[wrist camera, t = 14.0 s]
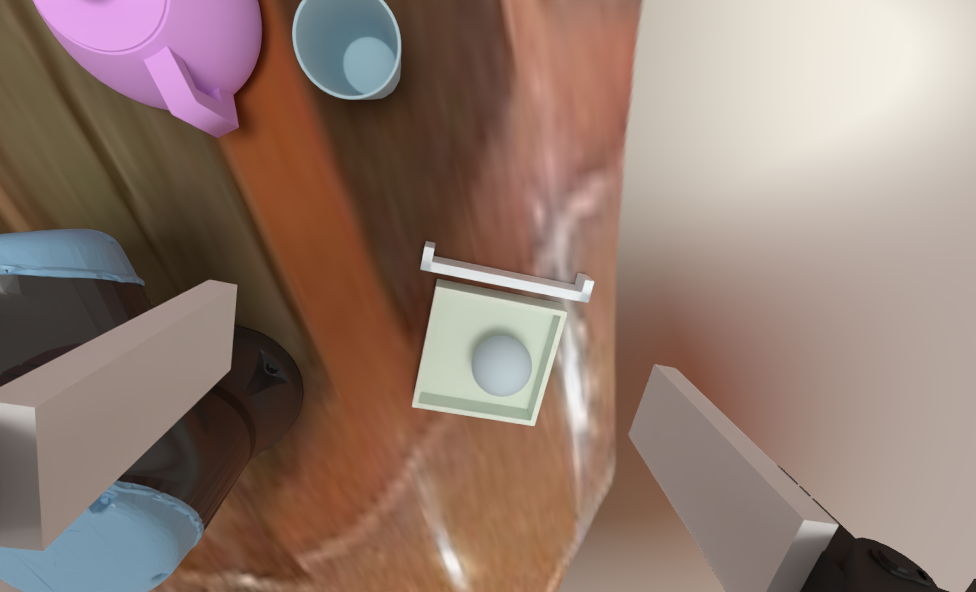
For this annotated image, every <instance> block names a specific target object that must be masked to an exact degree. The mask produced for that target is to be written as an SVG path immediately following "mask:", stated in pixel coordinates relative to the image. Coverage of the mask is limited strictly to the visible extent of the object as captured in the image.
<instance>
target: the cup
mask: <svg viewBox="0 0 976 592" xmlns="http://www.w3.org/2000/svg"><path fill="white" fill-rule="evenodd" d="M292 37H293V45H294V50H295V53H296V57H297V59H298V61H299V64H300V66H301V67H302V69H303V71H304V72H305V74H306V75H307V76H308V77H309V79H310V80H311V81H312V82H313V83H314V84H315V85H316V86H318V87H319V88H320V89H322V90H323V91H325V92H327V93H328V94H330V95H333V96H335V97H338V98H342V99H349V100H373V99H381V98H384V97H386V96H387V95H388V94H390V93H392V92H393V91H394V89H395V88H396V86H397V84H398V82H399V80H400V71H401V37H400V32H399V28H398V25H397V22H396V19H395V17H394V15H393V13H392V12H391V10H390V8H389V7H388V6H387V4H386V3H385V2H384V1H383V0H302V2H301V3H300V5H299V7H298V9H297V11H296V14H295V17H294V22H293V30H292Z"/></svg>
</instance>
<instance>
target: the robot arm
mask: <svg viewBox="0 0 976 592" xmlns="http://www.w3.org/2000/svg"><path fill="white" fill-rule="evenodd" d="M144 286H145V283H144V281H143V280H142V279H141V278H139V277H137V275H136V273H135V271H134V269H133V267H132V265H131V264H130V262H129V260H128V258H127V256H126V254H125V252H124V250H123V249H122V247H121V245H120V244H119V243H118V241H116V240H115V239H114V238H113V237H111V236H110V235H108V234H106V233H103V232H101V231H97V230H92V229H58V230H42V231H29V232H17V233H6V234H0V579H1V580H2V581H4V582H6V583H7V584H9V585H10V586H12V587H14V588H16V589H18V590H21V591H23V592H148V591H150V590H152V589H153V588H155V587H156V586H158V585H159V584H161V583H162V582H163V581H164V580H166V579H167V578H168V577H169V576H170V575H171V574H172V573H173V571H174V570H175V569H176V568H177V566H178V565H179V564H180V562H181V561H182V560H183V558H184V557H185V556H186V554H187V553H188V552H189V550H191V549H192V548H193V547H194V546H195V545H196V544H197V543H198V541H199V540H200V538H201V536H202V534H203V532H204V531H205V529H206V528H207V526H208V524H209V523H210V521H211V520H212V518H213V517H214V515H215V513H216V512H217V510H218V509H219V507H220V505H221V504H222V502H223V501H224V499H225V498H226V496H227V494H228V493H229V491H230V490H231V488H232V486H233V485H234V483H235V482H236V480H237V479H238V477H239V475H240V474H241V472H242V471H243V469H244V467H245V466H246V464H247V463H248V461H249V460H251V459H252V458H254V457H255V456H256V455H258V454H259V453H261V452H262V451H263V450H265V449H267V448H269V447H270V446H272V445H273V444H275V443H276V442H277V441H279V440H280V439H281V438H282V437H283V436H284V435H285V434H286V432H287V431H288V430H289V428H290V427H291V425H292V424H293V422H294V420H295V418H296V417H297V415H298V413H299V411H300V408H301V404H302V399H303V385H302V380H301V376H300V374H299V371H298V369H297V367H296V365H295V363H294V362H293V360H292V359H291V357H290V356H289V355H288V354H287V353H286V351H285V350H284V349H283V348H281V347H280V346H279V345H278V344H277V343H275V342H274V341H273V340H271V339H270V338H268V337H266V336H264V335H262V334H260V333H258V332H256V331H253V330H250V329H247V328H243V327H238V326H234V321H235V308H236V295H237V285H235V284H230V283H225V282H220V281H214V280H207V281H206V282H204V283H202V284H200V285H198V286H196V287H194V288H192V289H190V290H188V291H186V292H184V293H182V294H180V295H178V296H176V297H174V298H172V299H171V300H169V301H167V302H165V303H163V304H161V305H159V306H157V307H155V308H153V307H152V305H151V302H150V300H149V298H148V296H147V294H146V292H145V289H144ZM629 437H630V439H631V440H632V442H633V444H634V445H635V447H636V448H637V450H638V452H639V453H640V455H641V456H642V458H643V459H644V461H645V463H646V464H647V466H648V468H649V469H650V471H651V472H652V474H653V476H654V477H655V479H656V480H657V482H658V484H659V485H660V487H661V488H662V490H663V491H664V493H665V495H666V496H667V498H668V499H669V501H670V503H671V504H672V506H673V508H674V509H675V511H676V512H677V514H678V515H679V517H680V519H681V520H682V522H683V523H684V525H685V527H686V528H687V530H688V532H689V533H690V535H691V536H692V538H693V539H694V541H695V543H696V544H697V546H698V547H699V549H700V551H701V552H702V554H703V555H704V557H705V559H706V560H707V562H708V563H709V565H710V567H711V568H712V570H713V571H714V573H715V575H716V576H717V578H718V579H719V581H720V583H721V584H722V586H723V587H724V589H725V591H726V592H949V591H946V590H943V589H940V588H938V587H937V586H936V584H935V583H934V581H933V580H932V578H931V577H930V576H929V575H928V574H927V573H926V572H925V571H924V570H922V569H921V568H920V567H919V566H918V565H917V564H915V563H914V562H913V561H911V560H910V559H908V558H907V557H906V556H904V555H903V554H901V553H899V552H897V551H896V550H894V549H892V548H890V547H889V546H887V545H884V544H882V543H879V542H877V541H875V540H871V539H866V538H857V539H856V538H854V537H853V536H852V535H851V534H850V533H849V532H848V531H847V530H846V529H845V528H844V527H843V526H842V525H841V524H840V523H839V522H838V521H837V520H836V519H835V518H834V517H832V516H831V515H830V514H829V513H828V512H827V511H826V510H825V509H824V508H823V507H822V506H821V505H820V504H819V503H818V502H817V501H815V499H812V498H811V497H810V495H809V494H808V493H807V492H806V491H805V490H804V489H803V488H802V487H801V486H798V485H797V484H798V483H797V482H796V481H795V480H794V479H793V478H792V477H790V476H789V475H788V474H787V473H786V472H785V471H784V470H783V469H782V468H780V467H779V466H777V465H776V464H775V463H774V462H773V461H772V460H771V459H770V458H769V457H768V456H767V455H766V454H764V452H762V451H761V450H760V449H759V448H758V447H757V446H756V445H755V444H754V443H753V442H752V441H751V440H750V439H749V438H748V437H747V436H746V435H745V434H744V433H742V432H741V431H740V429H738V428H737V427H736V426H735V425H734V424H733V423H732V422H731V421H730V420H729V419H728V418H727V417H726V416H725V415H724V414H723V413H722V412H721V411H720V410H719V409H718V408H717V407H715V406H714V405H713V404H712V403H711V402H710V401H709V400H708V399H707V398H706V397H705V396H704V395H703V394H702V393H701V392H700V391H699V390H698V389H697V388H696V387H695V386H694V385H693V384H692V383H690V382H689V381H688V380H687V379H686V378H685V377H684V376H683V375H682V374H681V373H680V372H679V371H678V370H677V369H676V368H671V367H666V366H660V365H656V364H655V365H654V367H653V370H652V372H651V375H650V378H649V381H648V383H647V386H646V389H645V391H644V394H643V397H642V399H641V402H640V405H639V408H638V411H637V413H636V416H635V419H634V421H633V424H632V426H631V429H630V432H629ZM965 592H976V579H974V580H973V581H972V583H971V584H970V586H969V587H968V589H967V590H966V591H965Z"/></svg>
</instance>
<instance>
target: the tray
mask: <svg viewBox="0 0 976 592" xmlns="http://www.w3.org/2000/svg"><path fill="white" fill-rule="evenodd" d="M567 313H568V312H567V310H566V309H565V308H564V306H563V305H562V304H561V303H558V302H553V301H548V300H543V299H538V298H533V297H528V296H523V295H518V294H513V293H508V292H503V291H498V290H493V289H488V288H483V287H478V286H473V285H467V284H462V283H457V282H452V281H447V280H442V279H437V281H436V286H435V291H434V296H433V301H432V306H431V311H430V316H429V321H428V326H427V331H426V336H425V341H424V346H423V351H422V356H421V361H420V366H419V371H418V376H417V381H416V386H415V391H414V396H413V403H412V407H416V408H422V409H428V410H435V411H441V412H448V413H454V414H460V415H467V416H473V417H480V418H486V419H492V420H499V421H505V422H511V423H518V424H524V425H531V426H535V422H536V419H537V416H538V412H539V409H540V405H541V402H542V398H543V395H544V392H545V388H546V385H547V381H548V378H549V375H550V371H551V368H552V364H553V361H554V357H555V354H556V351H557V347H558V344H559V340H560V337H561V334H562V330H563V327H564V323H565V320H566V316H567ZM500 335H503V336H510V337H512V338H515V339H517V340H518V341H520V342H521V343H522V344H523V345H524V346H525V347H526V349H527V350H528V352H529V354H530V357H531V360H532V372H531V376H530V378H529V381H528V382H527V384H526V385H525V386H524V387H523V388H522V389H521V390H520V391H519V392H517V393H515V394H513V395H510V396H504V397H500V396H494V395H491V394H489V393H487V392H485V391H484V390H483V389H481V388H480V387H479V385H478V384H477V383H476V381H475V379H474V377H473V373H472V358H473V355H474V353H475V351H476V349H477V348H478V346H479V345H480V344H481V343H482V342H484V341H485V340H487V339H488V338H491V337H494V336H500Z"/></svg>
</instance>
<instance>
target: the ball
mask: <svg viewBox="0 0 976 592" xmlns="http://www.w3.org/2000/svg"><path fill="white" fill-rule="evenodd" d="M531 372H532V360H531V357H530V354H529V352H528V350H527V349H526V347H525V346H524V345H523V344H522V343H521V342H520V341H518V340H517V339H515V338H512V337H510V336H503V335H500V336H494V337H491V338H488V339H487V340H485V341H484V342H482V343H481V344H480V345H479V346H478V348H477V349H476V351H475V353H474V355H473V358H472V373H473V377H474V379H475V381H476V383H477V384H478V385H479V387H480V388H481V389H483V390H484V391H485V392H487V393H489V394H491V395H494V396H500V397H504V396H510V395H513V394H515V393H517V392H519V391H520V390H521V389H522V388H523V387H524V386H525V385H526V384H527V382H528V381H529V378H530V376H531Z"/></svg>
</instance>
